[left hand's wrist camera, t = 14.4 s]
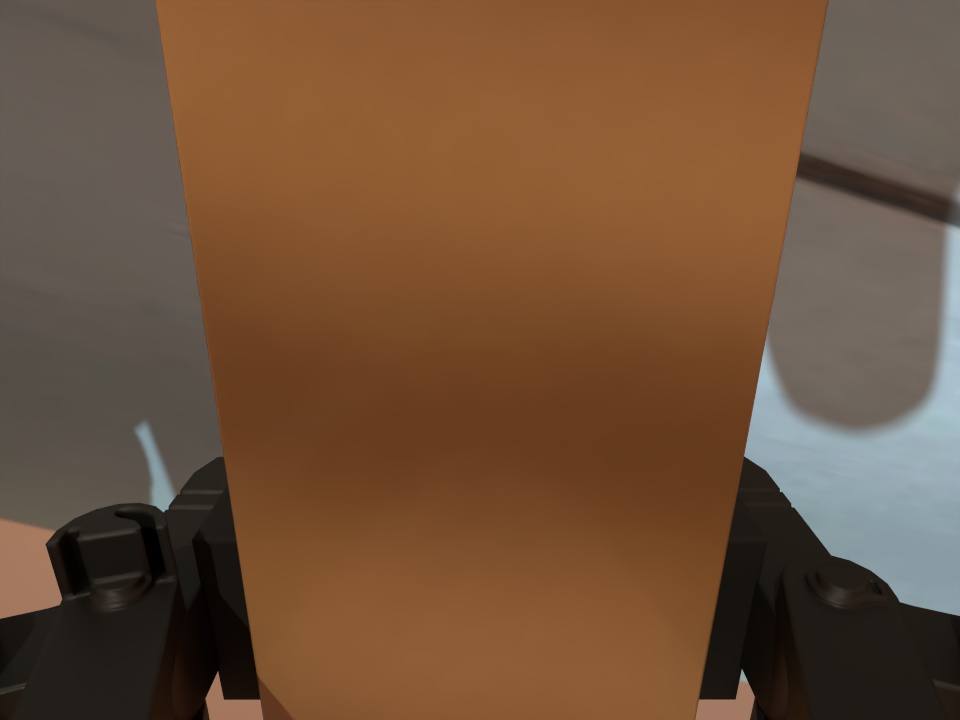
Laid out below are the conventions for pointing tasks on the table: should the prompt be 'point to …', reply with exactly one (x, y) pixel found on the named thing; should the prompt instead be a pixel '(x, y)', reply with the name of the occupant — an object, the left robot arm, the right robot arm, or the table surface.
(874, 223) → the table surface
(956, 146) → the table surface
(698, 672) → the post
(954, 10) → the table surface
